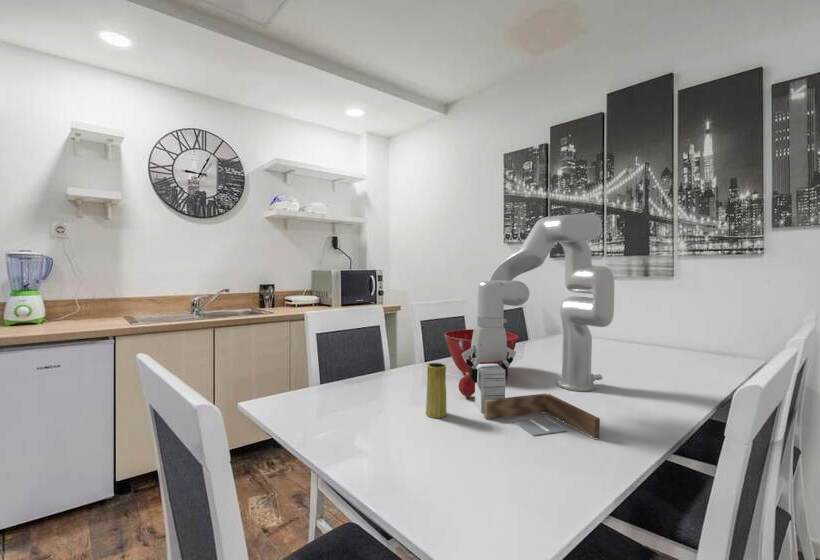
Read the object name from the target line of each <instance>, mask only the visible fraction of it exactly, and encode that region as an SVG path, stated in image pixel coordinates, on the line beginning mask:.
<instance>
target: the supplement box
mask: <svg viewBox="0 0 820 560" xmlns="http://www.w3.org/2000/svg"><path fill="white" fill-rule="evenodd" d="M476 369H477V370H478V377H477V383H475V393H474V404H475V406H476V407H477V408H478V410H479V412H480V413H481V414H484V404H485V400H489V399H499V398H506V381H505V369H503V368H502V367H501V366H500V365H498V364H478V366H477V367H476Z"/></svg>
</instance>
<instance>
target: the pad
mask: <svg viewBox="0 0 820 560" xmlns="http://www.w3.org/2000/svg"><path fill="white" fill-rule="evenodd" d="M511 422H512V423H514V424H515V425H517V426H519V427H520V428H521V429H523V430H524V431H526V432H527V433H528V434H530V435H532V436H533V437H538V436H544V434H545V435H550V433H552V434H557V433H556V432H559V433H564V432H563V431H566V432H568V430H567V429H566V428H564V427H562V426H561V425H559V424H558V423H555V422H554V421H552V420H551V419H549V418H547V417H545V416H544V415H543V416H538V417H528V418H521V419H514V420H512V419H511Z"/></svg>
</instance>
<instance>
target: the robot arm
mask: <svg viewBox="0 0 820 560" xmlns="http://www.w3.org/2000/svg"><path fill="white" fill-rule="evenodd" d="M602 229H603V226H602V220H601V218H600V217H599V216H598V215H597V214H595V213H592V212H587V213H579V214H563V215H554V216H553V215H552V216H545V217H542V218H540V219H538V220H537V221H536V222H535V224H534V225H533V227H532V228H531V230H530V231H529V233H528V235H527V237H526V238H525V240H524V241H523V243H522V244H521V247H520V248H519V250H517V251H516V252H515V253H513V254H511V255H510V256H509V257H507V259H505V260H504V261H502V262H501V263H500V264H499V265H498V266H497V267H496V268H495V269H494V271H493V272H492V273H491V275H490V277H489V279H488V280H484V281H483V280H482V281H480V282H479V283H478V287H477V293H478V294H477V318H476V319H477V320H476V322H477V326H474V328H473V329H474V331H473V336H472V343H471V348H470V349H468V350H467V351H465V352H463V353H462V356H463V359H464V361H465V363H466V364H467V365H468V366H469V367H470V379H471V381H473V382H474V383H477V377H478V370H477V369H476V367H477V366H478V364H479V363H480V362H498V361H500V363H501V364H502V365H500V366H501V367H502V368H503V369H505V382H506V381H507V380H508V376H509V375H508V373H509V372H508V371H509V369H508V368H509V367H510V365H511V364H512V363H513V362H514V358H515V357H516V354H517V351H515V349H514V350H512V349H510V348H508V347H507V338H506V332H507V331H506V328H505V327H504V324H507V323H508V322H507V321H508V320H507V318H504V313H505V312H504V311H505V309H504V307H505V305H506V306H513V307H518V306H522V305H523V304H526V303H527V301H528V300H529V297H530V290H529V287H528V286H527V284H526V283H524V282H523V281H522V282H521V281H520V280H514V279H515V278H517V277H518V276H520V275H522V274H524V273H528V272H530V271H533V270H536V269H538V268H539V267H541V266H542V265H544V262H545V261H546V259H547V257H548V256H549V254H550V252H551V251H552V249H553V247H554V246H555V244H558V243H559V244H560V245H561V247H562V249H563V251H564V261H565V262H564V264H565V265H564V282H565V283H564V284H565V288H566V289H567V290H568V291H569V292H570V293H571V292H572V293H578V294H588V295H589V294H590V295H592V297H588V296H569V297H566V298H564V299H563V300H562V302H561V303H560V307H559V313H560V319H561V324H562V351H561V353H562V354H561V355H562V357H561V358H562V359H561V362H562V363H561V378H559V379H558V380H557V382H556V385H558V387H560V388H562V389H565V390H569V391H574V392H575V391H576V392H589V391H591V392H592V391H594V390H596V389H597V388H596V387H597V385H596V383H595V381H601V380H603V375H602V374H600V373H599V374H594V373H592V357H593V355H592V350H593V349H592V346H593V345H592V343H593V338H592V334H591V330H590V329H589V326H590V327H596V328H597V327H598V328H605V327H608V326H610V324H612V322H613V319H614V315H615V314H614V313H615V278H614V274H613V272H612V270H611V269H610V268H608V267H607V266H605V265H593V262H592V261H593V260H592V259H593V258H592V249H591V246H590V245H589V243H588V242H587V241H589V240H594V239H596V238H598V237H599V235H600V234H601V232H602ZM507 352H508V353H509V356H508V357H507ZM469 355H471V358H472V360H471V361H470V360H469Z"/></svg>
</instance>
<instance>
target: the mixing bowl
mask: <svg viewBox="0 0 820 560" xmlns="http://www.w3.org/2000/svg"><path fill="white" fill-rule="evenodd" d="M473 331H474V328H471V329H469V328H468V329H455V330H449V331H446V332H445V333H444V336H445V340H446V343H447V348H448V351H449V354H450V356H451V358H452V361H453V362H454V364H455V367H456V368H457V369H458V370H459V371H460V372H462V373H463V374H464V375H466V373H469V374H470V367H469V366H468V365H467V364H466V363H465V361H464V359H463V356H462V353H463V352H465V351H467V350H468V349H470V348H471V343H472V336H473ZM505 332H506V338H507V347H508V348H510V349H512V350H514V351H515V348H516V344H517V341H518V340H517V339H519V336H518V335H517V334H515V333H513V332H512V333H511V332H508V331H505ZM508 356H509V353H508V352H507V357H508ZM469 360H470V361H471V360H472V358H471V355H469ZM479 364H498V365H502V364H501V363H500V361H498V362H480V363H479Z"/></svg>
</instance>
